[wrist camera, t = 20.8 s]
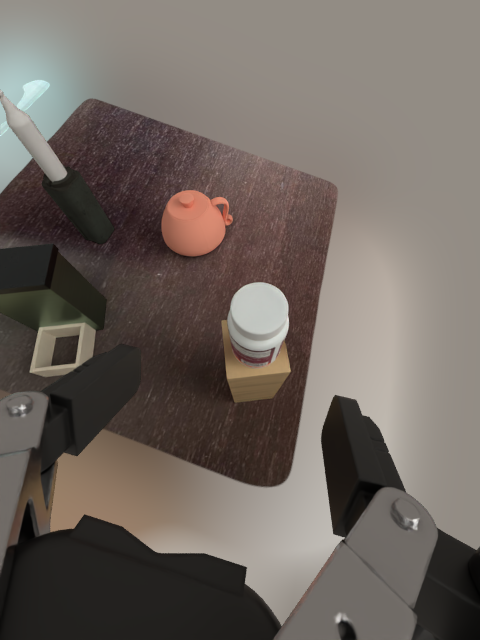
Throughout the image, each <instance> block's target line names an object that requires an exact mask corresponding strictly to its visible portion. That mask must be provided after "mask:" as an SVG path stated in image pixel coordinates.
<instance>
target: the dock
mask: <svg viewBox="0 0 480 640" xmlns="http://www.w3.org/2000/svg"><path fill="white" fill-rule="evenodd" d="M95 333H96V330H95V329H93V328H92V327H90V326H89V325H88V324H86V323H76V324H67V325H58V326H49V327H39V331H38V335H37V340H36V344H35V349H34V354H33V358H32V363H31V368H30V373H34V374H37V375H40V376H44V377H50V376H59V375H66V374H68V373H69V372H71V371H73V370H74V369H75V368H77V367H78V366H80V365H82V364H83V363H84V362H86V361H87V360H89V359H90V358H92V357H93V350H94V342H95ZM76 335H80V336H79V343H78V350H77V357H76V363H75V364H66V365H58V366H51V363H52V357H53V352H54V346H55V341H56V338H58V337H67V336H76Z"/></svg>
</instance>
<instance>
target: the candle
mask: <svg viewBox="0 0 480 640" xmlns="http://www.w3.org/2000/svg"><path fill="white" fill-rule="evenodd" d="M0 101H1V103H2V105H3V107H4V110H5V112H6V119H7V123H8V125H9V127H10V128H11V129H12V130H13V132H14V133H15V134H16V136H17V137H18V138H19V140H20V141H21V142H22V144H23V145H24V146H25V148H26V149H27V150H28V151H29V153H30V154H31V155H32V157H33V158H34V159H35V161H36V162H37V163H38V165H39V166H40V167H41V169H42V170H43V171H44V173H45V174H44V177H43V179H44V180H43V181H42V186H43V188H44V189H45V190H46V191H47V192H48V194H49V195H50V196H51V197H52V199H53V200H54V201H55V202H56V204H57V205H58V206H59V207H60V209H61V210H62V211H63V212H64V213H65V215H66V216H67V217H68V218H69V220H70V221H71V222H72V223H73V225H74V226H75V227H76V228H77V229H78V231H79V232H80V233H81V234H82V236H83V237H84V238H85V239H86V240H91V241H94V242H97V243H98V244H103V243H105V242H106V241H107V239H108V238H109V237H110V235H111V234H112V232H113V231H114V227H113V225H112V224H111V222H110V221H109V219H108V217H107V216H106V214H105V213H104V211H103V209H102V208H101V206H100V205H99V203H98V202H97V200H96V198H95V197H94V195H93V194H92V192H91V190H90V189H89V187H88V186H87V184H86V182H85V181H84V179H83V178H82V176H81V175H80V173H79V172H78V171H76V170H72V169H71V168H70V167H67V168H66V167H65V166H64V165H62V164H61V162H60V161H59V159H58V158H57V156H56V155H55V153H54V152H53V150H52V149H51V148H50V146H49V145H48V143H47V142H46V140H45V139H44V137H43V136H42V134H41V133H40V131H39V130H38V128H37V127H36V125H35V124H34V122H33V121H32V120H31V118H30V116H29V115H27V114H26V113H24V112H23V111H21V110H20V109H18V108H17V107H16V106H15V105H14V104H12V103H11V102H10V101H9V100H8V99H7V98H6V97H5V96H4V94H3V92H2V91H1V90H0Z"/></svg>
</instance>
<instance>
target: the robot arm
mask: <svg viewBox="0 0 480 640" xmlns="http://www.w3.org/2000/svg"><path fill="white" fill-rule="evenodd" d="M140 380H141V350H140V348H138V347H134V346H129V345H125V344H119V345H118V346H116V347H115V348H114V349H112V350H111V351H109V352H108V353H107V352H105V353H102V354H99V355H96V356H94V357H92V358H90V359H89V360H87V361H86V362H84V363H83V364H82V365H80V366H78V367H77V368H75V369H74V370H73V371H71V372H69V373H68V374H66V375H65V376H63V377H62V378H60V379H59V380H57V381H56V382H54V383H53V384H51V385H50V386H48V387H47V388H45V389H44V390H42V391H41V392H39V391H24V392H19V393H15V394H12V395H9V396H7V397H5V398H2V399H1V400H0V640H480V547H479V548H478V549H477V550H475V549H473V548H471V547H470V546H468V545H466V544H464V543H462V542H461V541H459V540H457V539H455V538H453V537H452V536H450V535H448V534H446V533H444V532H443V531H441V530H440V529H438V528H437V527H436V524H435V522H434V520H433V518H432V517H431V515H430V514H429V512H428V511H427V510H426V509H425V508H424V506H422V504H420V503H419V502H418V501H417V500H416V499H415V498H413V497H412V496H410V495H409V494H407V493H406V491H405V488H404V486H403V484H402V481H401V479H400V476H399V474H398V472H397V470H396V467H395V465H394V462H393V460H392V458H391V455H390V454H389V453H388V452H389V451H388V448H387V446H386V444H385V443H384V439H383V436H382V434H381V432H380V429H379V428H378V427H377V425H376V424H375V423H374V422H373V421H372V420H371V419H370V417H367V416H363V415H362V414H361V411H360V408H359V405H358V403H357V401H356V400H354V399H350V398H346V397H341V396H337V395H335V396H334V397H333V400H332V402H331V405H330V408H329V411H328V414H327V417H326V419H325V422H324V425H323V429H322V436H321V444H322V451H323V459H324V466H325V474H326V482H327V489H328V497H329V504H330V512H331V520H332V527H333V534H335V535H338V536H342V537H345V538H346V539H345V540H342V541H341V542H340V543H339V544H338V546H337V547H336V548H335V550H334V551H333V553H332V554H331V556H330V557H329V559H328V560H327V562H326V563H325V565H324V566H323V567H322V569H321V570H320V572H319V573H318V575H317V576H316V578H315V579H314V581H313V582H312V583H311V585H310V586H309V588H308V589H307V591H306V592H305V594H304V595H303V597H302V598H301V599H300V601H299V602H298V604H297V605H296V607H295V608H294V610H293V611H292V613H291V614H290V616H289V617H288V618H287V620H286V621H285V623H284V624H283V626H281V624H280V622H279V621H278V619H277V618H276V616H275V615H274V613H273V612H272V610H271V609H270V608H269V606H268V605H267V604H266V603H265V602H264V600H263V599H262V598H261V597H260V596H259V595H258V594H257V593H256V592H255V591H254V590H252V589H251V588H250V587H249V586H247V585H246V584H245V577H246V569H247V567H244V566H241V565H238V564H235V563H232V562H229V561H226V560H223V559H220V558H217V557H214V556H211V555H208V554H204V553H203V554H202V553H201V554H199V553H198V554H197V553H196V554H195V553H190V554H189V553H188V554H187V553H185V554H184V553H182V554H181V553H180V554H177V553H168V554H167V553H165V554H164V553H157V552H155V551H153V550H152V549H150V548H149V547H148V546H146V545H145V544H144V543H143V542H141V541H140V540H139V539H137V538H136V537H135V536H134V535H132V534H131V533H129V532H128V531H127V530H126V529H124V528H123V527H122V526H119V525H115V524H112V523H109V522H106V521H103V520H100V519H97V518H94V517H91V516H87V515H84V516H83V517H82V518H81V520H80V521H79V523H78V524H77V525H76V527H75V528H74V529H66V530H58V531H55V532H50V519H51V510H52V503H53V495H54V488H55V481H56V473H57V466H58V463H57V459H58V458H59V457H60V456H61V455H62V454H63V453H68V454H71V455H75V456H78V455H79V454H80V453H81V452H82V451H83V449H84V448H85V447H86V446H87V445H88V444H89V443H90V442H91V441H92V440H93V439H94V437H95V436H96V435H97V434H98V433H99V432H100V431H101V430H102V429H103V428H104V427H105V426H106V425H107V423H108V422H109V421H110V420H111V419H112V418H113V417H114V416H115V415H116V414H117V413H118V412H119V410H120V409H121V408H122V407H123V406H124V405H125V404H126V403H127V402H128V401H129V400H130V399H131V397H132V396H133V395H134V394H135V393H136V391H137V390H138V387H139V385H140Z"/></svg>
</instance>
